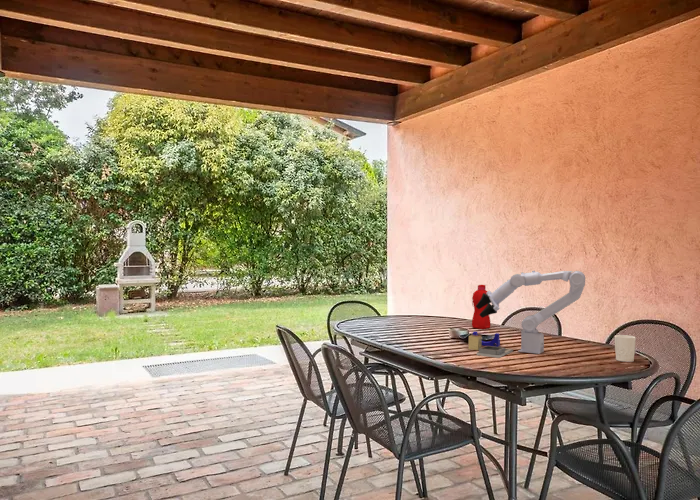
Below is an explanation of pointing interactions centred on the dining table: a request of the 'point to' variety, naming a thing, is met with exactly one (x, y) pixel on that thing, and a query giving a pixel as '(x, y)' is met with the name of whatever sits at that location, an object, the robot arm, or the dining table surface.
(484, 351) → the grey base plate
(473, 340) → the tan rectangular block
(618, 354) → the white cup
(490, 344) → the cable clip
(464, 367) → the dining table surface
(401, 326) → the dining table surface
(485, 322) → the water bottle
